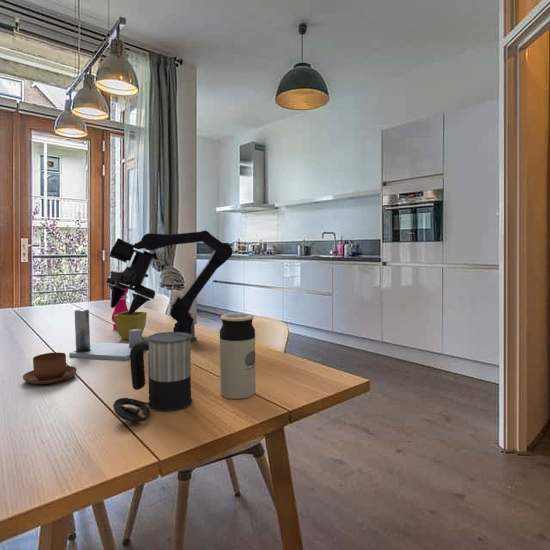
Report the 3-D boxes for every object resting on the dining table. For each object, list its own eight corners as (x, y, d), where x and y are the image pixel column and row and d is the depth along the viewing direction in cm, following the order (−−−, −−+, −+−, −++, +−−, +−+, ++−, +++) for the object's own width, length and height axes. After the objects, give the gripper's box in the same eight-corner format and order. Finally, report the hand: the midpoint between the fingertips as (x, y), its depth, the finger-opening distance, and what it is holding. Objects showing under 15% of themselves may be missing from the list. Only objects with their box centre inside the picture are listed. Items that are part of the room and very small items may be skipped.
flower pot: (148, 335, 154) (147, 311, 153) (138, 340, 145) (137, 315, 145) (125, 334, 155) (124, 311, 154) (114, 340, 146) (113, 315, 146)
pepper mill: (124, 330, 162) (123, 280, 161) (108, 329, 164) (106, 280, 162) (134, 327, 169) (133, 278, 168) (118, 326, 171) (117, 278, 169)
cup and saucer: (28, 375, 108) (27, 352, 107) (79, 370, 112) (78, 348, 111) (17, 391, 96) (16, 365, 96) (74, 384, 101) (73, 360, 100)
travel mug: (213, 393, 94) (212, 315, 92) (240, 385, 99) (239, 311, 98) (235, 403, 88) (234, 320, 87) (262, 393, 94) (262, 315, 92)
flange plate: (149, 348, 134) (149, 329, 134) (125, 360, 121) (124, 339, 120) (98, 345, 138) (97, 327, 138) (69, 356, 125) (68, 336, 124)
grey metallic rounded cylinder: (93, 348, 129) (91, 309, 128) (84, 352, 125) (83, 311, 124) (81, 348, 129) (80, 309, 129) (73, 351, 126) (71, 311, 125)
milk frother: (196, 395, 93) (195, 331, 92) (182, 426, 77) (181, 349, 76) (133, 396, 92) (131, 331, 91) (106, 427, 77) (103, 350, 76)
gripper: (103, 254, 137) (83, 298, 135) (140, 265, 128) (119, 312, 125) (128, 265, 147) (110, 306, 144) (164, 276, 137) (145, 320, 134)
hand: (120, 311), depth 137 cm, fingers open, 9 cm apart
